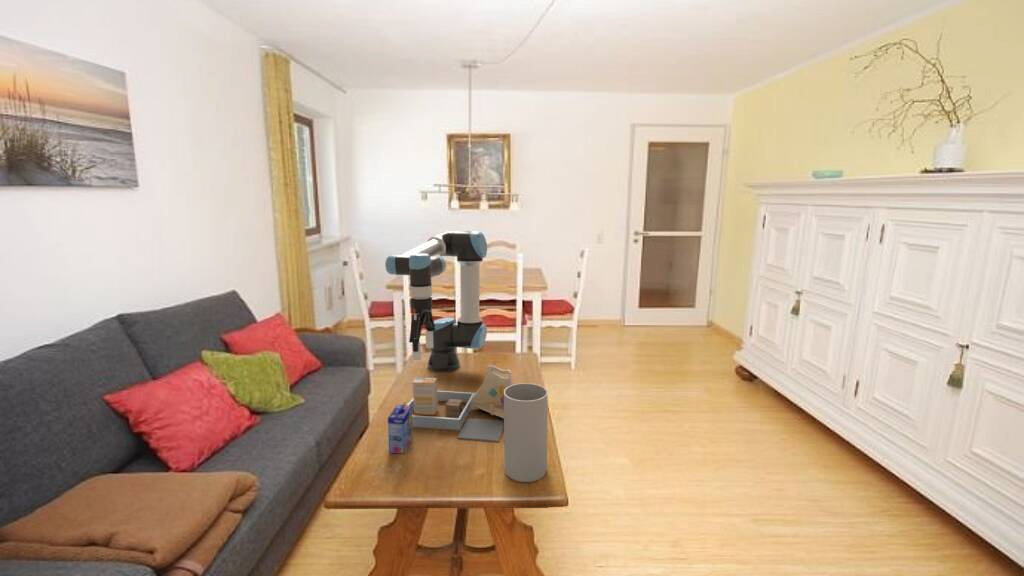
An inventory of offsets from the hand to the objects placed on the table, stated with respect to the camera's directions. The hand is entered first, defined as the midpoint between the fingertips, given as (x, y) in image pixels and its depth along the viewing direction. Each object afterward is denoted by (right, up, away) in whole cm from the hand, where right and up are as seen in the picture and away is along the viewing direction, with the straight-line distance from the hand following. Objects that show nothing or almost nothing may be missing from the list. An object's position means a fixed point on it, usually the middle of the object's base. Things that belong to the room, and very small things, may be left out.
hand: (423, 353), depth 170 cm
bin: (+5, -23, +4) cm, 24 cm away
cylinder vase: (+36, -30, -33) cm, 58 cm away
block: (+11, -23, +3) cm, 26 cm away
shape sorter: (+28, -23, +3) cm, 36 cm away
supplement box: (0, -23, +5) cm, 24 cm away
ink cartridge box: (-4, -28, -19) cm, 34 cm away
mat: (+22, -25, -9) cm, 35 cm away
